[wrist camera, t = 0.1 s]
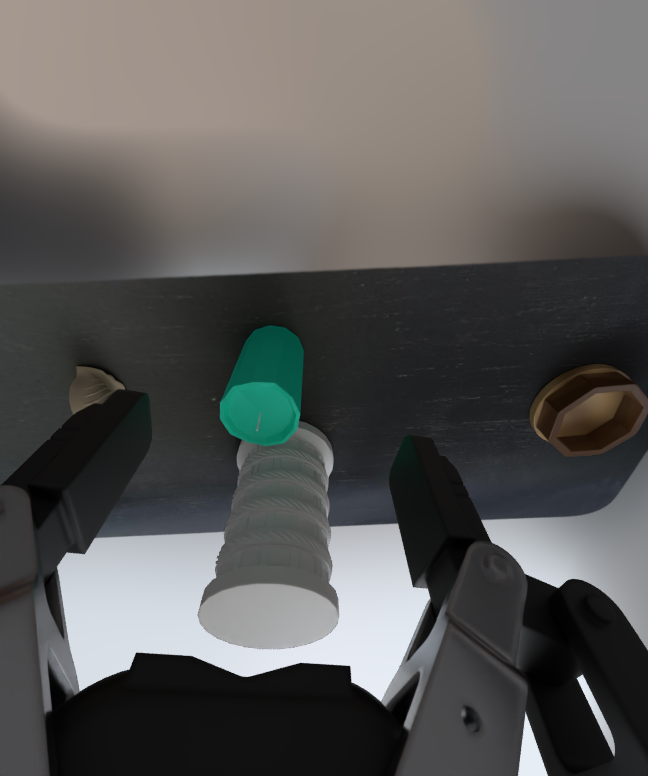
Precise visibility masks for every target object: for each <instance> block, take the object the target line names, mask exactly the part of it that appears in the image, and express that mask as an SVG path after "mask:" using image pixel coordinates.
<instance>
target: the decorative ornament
mask: <svg viewBox="0 0 648 776" xmlns="http://www.w3.org/2000/svg"><path fill="white" fill-rule="evenodd" d="M76 368H77V376H76V378H75V379H74V381H73V382H72V384H71V387H70V392H69V401H70V406H71V410H72V413H73V415H74V414H75V413H76V412H78V411H80V410H82V409H84V408H86V407H88V406H90V405H91V404H93V403H98V404H103V403H104V402H105V401H106V400H107V399H108V398H109V397H110V396H111V395H112V393H113V392H114V391H116V390H117V389H123V390H125V387H124V385H123V384H122V383H121V382H119V381H117V380H115V379H114V378H113V376H112V375H108V374H106V373H105V372H104V371H103V370H100V369H95V368H92V367H84V366H77V367H76Z"/></svg>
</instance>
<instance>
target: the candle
mask: <svg viewBox="0 0 648 776" xmlns="http://www.w3.org/2000/svg"><path fill="white" fill-rule="evenodd" d="M303 358H304V350H303V347H302V345H301V343H300V340H299V338H298V337H297V336H296V335H295V334H293V333H292V332H291V331H289V330H288V329H287V328H285V327H279V326H273V325H268V326H265V327H262V328H259V329H256V330H254V331H253V333H252V334H251V335H250V336H249V338H248V339H247V340H246V342H245V344H244V346H243V349H242V351H241V354H240V356H239V358H238V361H237V363H236V366H235V368H234V371H233V373H232V375H231V378H230V380H229V383H228V385H227V388H226V390H225V392H224V395H223V397H222V400H221V402H220V420H221V421H222V423H223V424H224V426H225V427H226V429H227V430H228V432H229V433H230V434H231V435H233V436H236V437H238V438H240V439H242V440H244V441H246V442H248V443H254V444H259V445H264V446H270V445H276V444H282V443H285V442H286V441H287V440H288V439H289V438H290V437H291V436H292V435H293V434H294V433H295V432H296V431H297V429H298V423H299V418H300V410H301V392H302V375H303Z"/></svg>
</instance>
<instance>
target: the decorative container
mask: <svg viewBox="0 0 648 776" xmlns="http://www.w3.org/2000/svg"><path fill="white" fill-rule="evenodd" d="M237 466H238V468H239V470H240V471H239V475H238V481H237V483H238V487H237V488H236V490H235V494H234V495H233V499H232V501H231V502H232V505H231V509H232V513H231V514H230V516H229V518H228V522H227V523H226V525H227V526H226V528H224V530H225V533H224V539H225V544H224V545H223V546H222V548H221V551H220V552H219V556H217V558H218V561H216V564H217V566H216V568H215V571H216V578H215V579H213V580H212V581H211V582H210V583H209V585H208V586H207V587H206V588H205V590H204V594H203V597H202V600H201V604H200V608H199V612H198V618H199V621H200V624H201V625H202V626H203V627H204V629H205V630H206V631H207V632H208V633H210V634H212V635H213V636H214V637H216V638H218V639H220V640H223V641H225V642H228V643H230V644H234V645H239V646H243V647H248V648H257V649H284V648H294V647H298V646H302V645H307V644H310V643H313V642H315V641H317V640H320V639H322V638H323V637H325V636H327V635H328V634H329V633H331V632H332V631H333V629H334V628H335V627H336V625H337V624H338V619H339V606H338V597H337V594H336V591H335V589H334V588H333V587H332V586H331V585H330V584H329V581H330V577H331V573H332V561H331V557H330V554H329V551H328V547H329V542H330V538H331V530H330V526H329V523H328V520H327V518H328V514H329V506H330V503H329V499H328V496H327V489H328V481H329V480H328V477H329V475H330V473H331V471H332V468H333V451H332V447H331V444H330V442H329V440H328V439H327V437H326V436H325V435H324V434H323V433H322V432H321V431H320V430H319V429H317V428H316V427H314V426H312V425H310V424H308V423H306V422H302V421H299V423H298V429H297V431H296V432H295V433H294V434H293V435H292V436H291V437H290V438H289V439H288V440H287V441H286V442H285V443H282V444H276V445H270V446H264V445H259V444H254V443H248V442H246V441H244V440H241V443H240V446H239V450H238V454H237Z"/></svg>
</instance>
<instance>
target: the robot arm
mask: <svg viewBox="0 0 648 776" xmlns="http://www.w3.org/2000/svg"><path fill="white" fill-rule="evenodd" d="M151 440H152V425H151V413H150V401H149V396H148V394H147V393H142V392H136V391H130V390H123V389H117V390H116V391H114V392H113V393H112V395H111V396H110V397H109V398H108V399H107V400H106V401H105V402H104V403H103V404H98V403H93V404H91V405H90V406H88V407H86V408H84V409H82V410H80V411H78V412H76V413H75V414H74V415H73V416H72V417H71V418H69V419H68V420H67V421H66V422H65V423H64V424H63V425H62V428H61V429H60V428H59V429H58V430H57V431H56V432H55V433H54V434H53V435H52V436H51V439H50V440H47V441H46V442H45V443H44V444H43V445H42V446H41V447H40V448H39V449H38V450H37V451H36V452H35V453H34V454H33V455H32V456H31V457H29V458H28V459H27V460H26V461H25V462H24V463H23V464H22V465H21V466H20V467H19V468H18V469H17V470H16V471H15V472H14V473H13V474H12V475H11V476H10V477H9V478H8V479H7V480H6V481H5V482H4V483H3V484H2V485H0V776H518V770H519V761H520V754H521V745H522V736H523V728H524V720H525V711H526V714H527V717H528V720H529V723H530V725H531V728H532V731H533V733H534V737H535V740H536V743H537V745H538V748H539V751H540V754H541V757H542V760H543V763H544V766H545V768H546V771H547V774H548V776H648V650H647V649H646V647H645V646H644V644H643V643H642V641H641V640H640V638H639V636H638V635H637V633H636V632H635V630H634V629H633V627H632V626H631V624H630V623H629V621H628V620H627V618H626V617H625V615H624V614H623V612H622V611H621V610H620V608H619V607H618V606H617V605H616V604H615V603H614V602H613V601H612V600H611V599H610V598H609V597H608V596H607V595H606V594H605V593H603V592H602V591H601V590H599V589H598V588H596V587H595V586H593V585H591V584H589V583H587V582H585V581H582V580H578V579H570V580H568V581H566V582H565V583H564V584H563V585H562V586H561V587H560V588H556V587H554V586H552V585H549V584H547V583H545V582H542V581H540V580H538V579H535V578H533V577H531V576H528V575H526V574H524V572H523V570H522V568H521V566H520V565H519V564H518V562H517V561H516V560H515V559H514V558H513V557H512V556H511V555H510V554H509V553H508V552H507V551H505V550H504V549H503V548H501V547H499V546H498V545H495V544H493V543H492V542H491V540H490V538H489V536H488V534H487V532H486V530H485V528H484V526H483V524H482V521H481V519H480V517H479V515H478V513H477V511H476V509H475V507H474V505H473V503H472V500H471V498H469V497H468V495H469V494H468V492H467V490H466V488H465V486H463V482H462V480H461V477H460V475H459V473H458V471H457V469H456V468H455V467H454V466H453V465H452V464H451V463H450V461H449V460H448V459H447V458H446V457H445V456H440V455H439V453H438V451H437V449H436V446H435V444H434V442H433V440H432V439H431V438H426V437H419V436H413V435H407V436H406V437H405V438H404V440H403V442H402V444H401V447H400V449H399V451H398V453H397V456H396V458H395V460H394V462H393V465H392V467H391V470H390V475H389V486H390V491H391V495H392V499H393V503H394V508H395V512H396V516H397V520H398V525H399V529H400V533H401V537H402V542H403V546H404V550H405V555H406V559H407V563H408V567H409V572H410V575H411V580H412V585H413V587H417V588H428V591H429V594H430V600H429V601H428V603H427V604H426V607H425V609H424V611H423V614H422V616H421V618H420V621H419V623H418V626H417V628H416V630H415V633H414V635H413V638H412V640H411V642H410V644H409V647H408V649H407V651H406V654H405V656H404V658H403V661H402V663H401V665H400V667H399V669H398V671H397V673H396V675H395V676H394V678H393V680H392V681H391V683H390V685H389V687H388V689H387V691H386V693H385V695H384V697H383V699H382V701H381V702H380V701H379V700H378V699H377V698H376V697H374V696H373V695H372V694H370V693H369V692H368V691H366V690H365V689H363V688H361V687H360V686H358V685H356V684H354V683H352V682H351V671H350V666H341V665H326V664H309V663H299V664H295V665H291V666H288V667H284V668H280V669H276V670H273V671H269V672H265V673H262V674H258V675H254V676H250V677H242V676H239V675H236V674H234V673H231V672H229V671H226V670H224V669H222V668H219V667H217V666H214V665H212V664H210V663H207V662H205V661H202V660H200V659H197V658H195V657H193V656H182V655H165V654H149V653H136V654H135V657H134V660H133V662H132V665H131V667H130V670H126V671H122V672H119V673H117V674H114V675H111V676H109V677H106V678H104V679H102V680H100V681H98V682H96V683H94V684H92V685H90V686H88V687H87V688H85V689H83V690H82V691H79V685H78V680H77V675H76V671H75V666H74V662H73V659H72V655H71V652H70V647H69V642H68V635H67V628H66V622H65V615H64V608H63V602H62V595H61V588H60V581H59V575H58V570H57V566H58V564H59V563H60V561H61V560H62V558H63V557H64V555H65V554H66V552H68V553H79V554H85V553H86V551H87V550H88V548H89V546H90V544H91V543H92V541H93V540H94V538H95V537H96V535H97V533H98V532H99V530H100V528H101V527H102V525H103V524H104V522H105V520H106V519H107V517H108V516H109V514H110V512H111V511H112V509H113V507H114V506H115V504H116V503H117V501H118V499H119V498H120V496H121V494H122V493H123V491H124V490H125V488H126V486H127V485H128V483H129V481H130V480H131V478H132V477H133V475H134V473H135V472H136V470H137V468H138V467H139V465H140V464H141V462H142V460H143V459H144V457H145V455H146V454H147V452H148V450H149V447H150V444H151ZM581 675H583V676H584V678H585V680H586V682H587V684H588V686H589V688H590V690H591V692H592V694H593V696H594V698H595V700H596V702H597V704H598V706H599V708H600V710H601V712H602V714H603V716H604V718H605V720H606V722H607V724H608V726H609V728H610V730H611V733H612V736H613V739H614V743H615V756H613V754H612V752H611V749H610V747H609V745H608V743H607V741H606V739H605V737H604V735H603V733H602V730H601V729H600V726H599V724H598V722H597V720H596V718H595V716H594V714H593V712H592V709H591V707H590V705H589V703H588V701H587V699H586V697H585V695H584V693H583V691H582V689H581V686H580V684H579V682H578V680H577V678H578V677H579V676H581Z"/></svg>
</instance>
